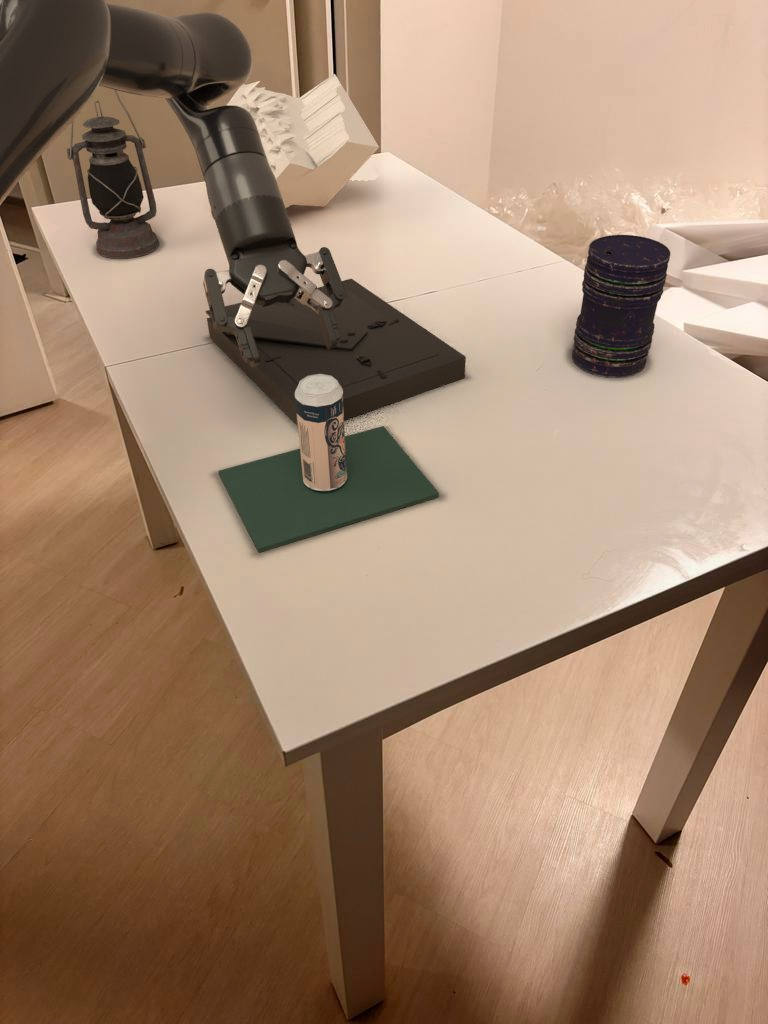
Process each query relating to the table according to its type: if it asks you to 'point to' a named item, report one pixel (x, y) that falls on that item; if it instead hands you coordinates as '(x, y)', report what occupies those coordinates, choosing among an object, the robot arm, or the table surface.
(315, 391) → the beer can
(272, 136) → the white angular faceted block
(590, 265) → the dark blue cylinder
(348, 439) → the mat
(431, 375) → the black flat block
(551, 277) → the table surface
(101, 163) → the lantern
